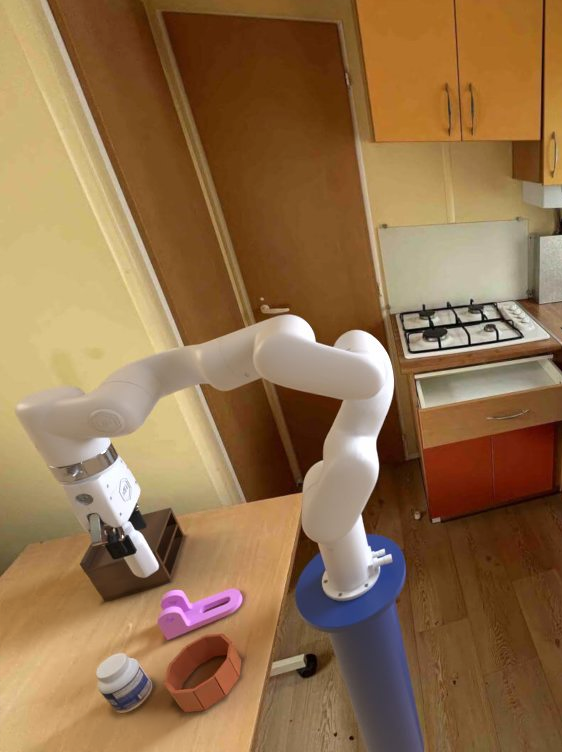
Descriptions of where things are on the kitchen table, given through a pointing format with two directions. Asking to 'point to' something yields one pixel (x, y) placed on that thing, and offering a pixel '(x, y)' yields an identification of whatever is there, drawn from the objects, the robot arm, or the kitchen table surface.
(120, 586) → the shelf
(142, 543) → the eye dropper bottle
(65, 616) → the kitchen table surface
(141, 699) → the pill bottle
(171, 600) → the bracket
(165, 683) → the holder cup
